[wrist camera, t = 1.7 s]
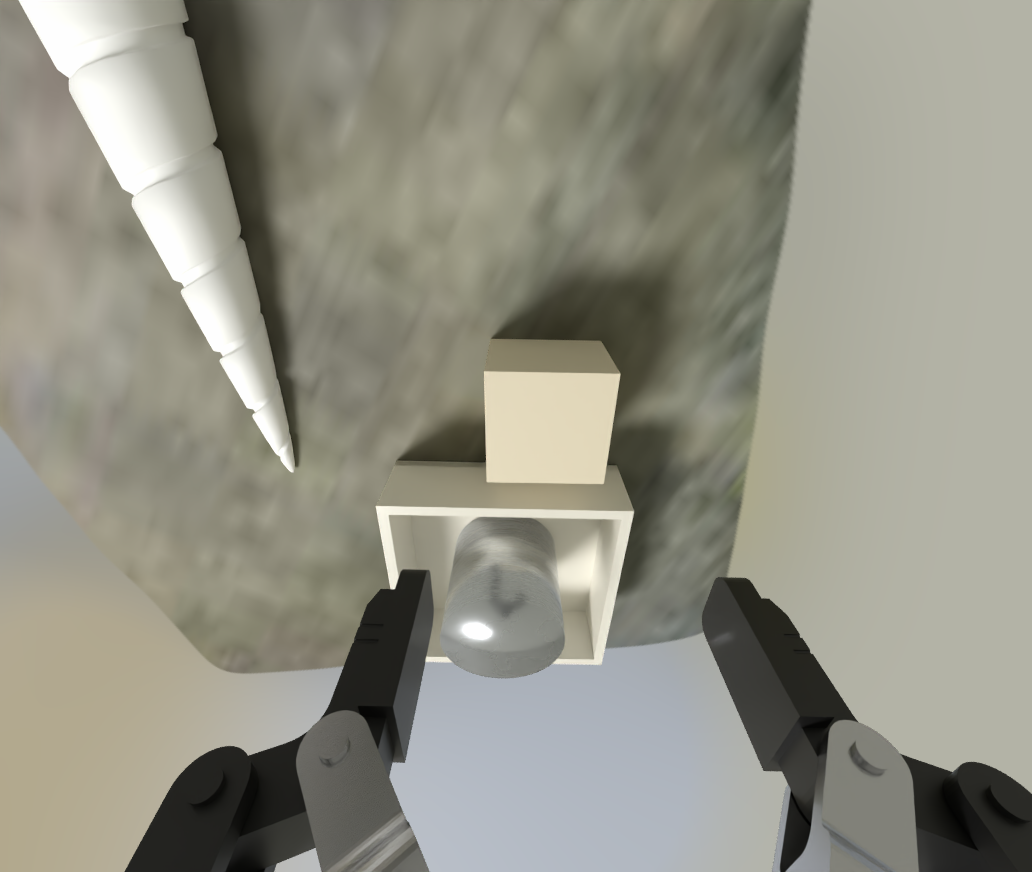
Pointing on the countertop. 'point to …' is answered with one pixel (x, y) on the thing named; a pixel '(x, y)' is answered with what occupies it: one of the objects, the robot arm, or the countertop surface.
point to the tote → (559, 507)
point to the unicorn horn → (170, 171)
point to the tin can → (503, 599)
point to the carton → (548, 410)
